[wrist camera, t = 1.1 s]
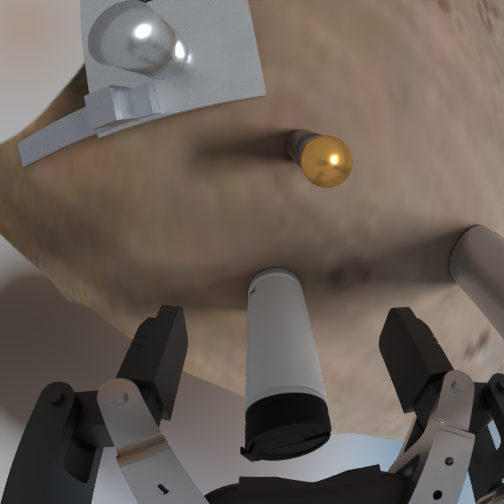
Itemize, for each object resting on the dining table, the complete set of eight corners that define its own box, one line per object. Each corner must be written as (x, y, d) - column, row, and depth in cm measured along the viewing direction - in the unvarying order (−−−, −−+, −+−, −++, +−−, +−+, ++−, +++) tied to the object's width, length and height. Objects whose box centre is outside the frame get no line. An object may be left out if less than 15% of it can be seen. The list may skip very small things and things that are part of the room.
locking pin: (317, 127, 25) (350, 134, 16) (321, 160, 27) (354, 184, 18) (282, 130, 25) (298, 139, 16) (287, 164, 27) (304, 190, 18)
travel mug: (236, 279, 33) (222, 444, 15) (290, 259, 32) (324, 424, 14) (258, 317, 36) (260, 469, 18) (307, 300, 34) (341, 453, 16)
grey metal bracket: (235, -36, 17) (223, -116, 4) (263, 99, 24) (273, 83, 12) (51, 32, 18) (-32, 19, 6) (68, 153, 26) (-21, 190, 13)
